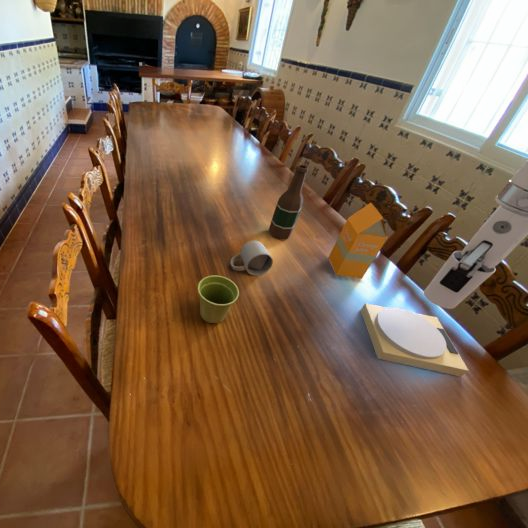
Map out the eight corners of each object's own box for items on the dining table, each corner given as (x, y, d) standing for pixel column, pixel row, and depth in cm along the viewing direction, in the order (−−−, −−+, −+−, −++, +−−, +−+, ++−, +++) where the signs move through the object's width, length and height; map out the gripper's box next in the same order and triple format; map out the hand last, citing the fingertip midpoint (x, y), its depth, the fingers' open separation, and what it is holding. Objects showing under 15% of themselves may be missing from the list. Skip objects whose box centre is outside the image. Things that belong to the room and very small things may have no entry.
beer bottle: (267, 237, 100) (290, 169, 85) (268, 226, 106) (288, 159, 91) (291, 242, 99) (318, 173, 84) (290, 230, 105) (315, 163, 90)
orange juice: (352, 260, 94) (385, 203, 81) (362, 279, 87) (399, 220, 74) (327, 257, 94) (356, 200, 82) (335, 275, 87) (367, 216, 75)
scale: (430, 323, 75) (439, 314, 73) (461, 376, 64) (472, 368, 62) (360, 309, 77) (366, 300, 75) (377, 358, 66) (385, 349, 64)
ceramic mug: (259, 257, 91) (265, 237, 87) (269, 275, 85) (276, 254, 80) (226, 259, 90) (230, 238, 85) (234, 277, 84) (239, 255, 79)
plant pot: (239, 315, 73) (247, 290, 67) (215, 337, 67) (222, 311, 62) (209, 294, 78) (214, 270, 72) (185, 313, 72) (189, 288, 66)
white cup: (452, 292, 63) (486, 256, 57) (463, 314, 58) (503, 277, 52) (417, 283, 65) (447, 247, 58) (425, 304, 60) (459, 266, 54)
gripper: (547, 223, 41) (458, 310, 52) (576, 199, 49) (493, 279, 60) (482, 200, 46) (414, 284, 57) (518, 181, 53) (452, 259, 65)
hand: (455, 281), depth 58 cm, fingers closed on white cup, 5 cm apart
